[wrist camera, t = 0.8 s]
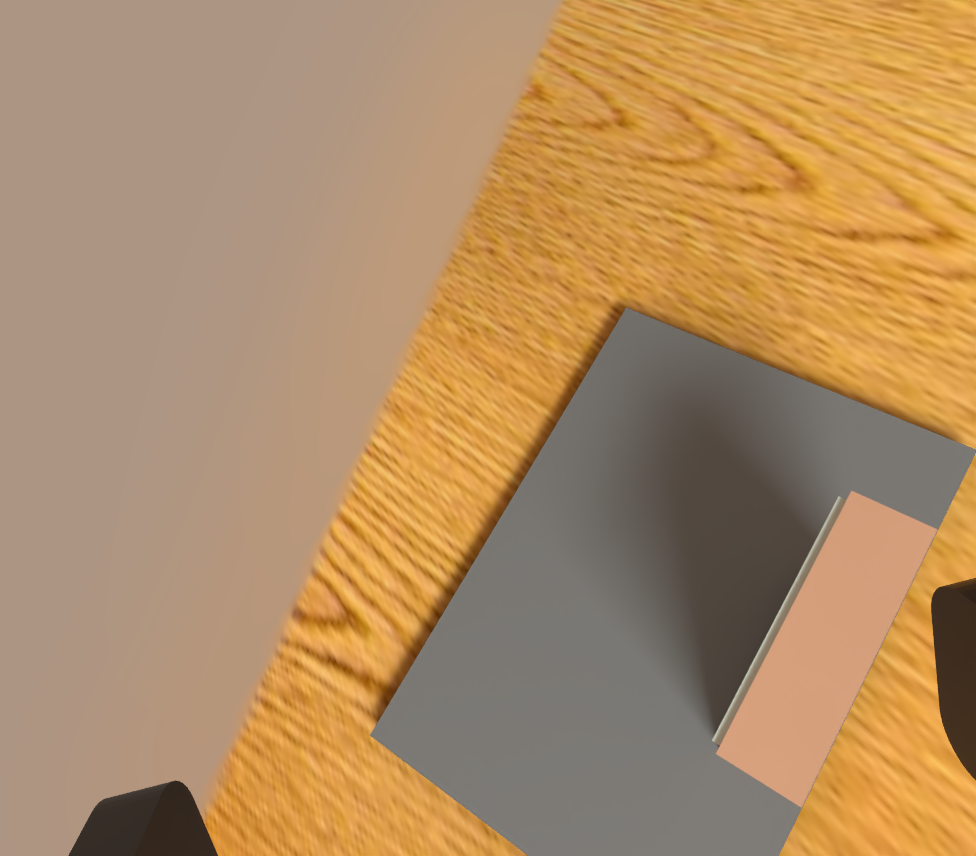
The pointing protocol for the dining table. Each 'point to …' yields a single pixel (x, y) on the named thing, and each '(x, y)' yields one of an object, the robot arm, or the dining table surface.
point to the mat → (646, 599)
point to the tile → (822, 645)
